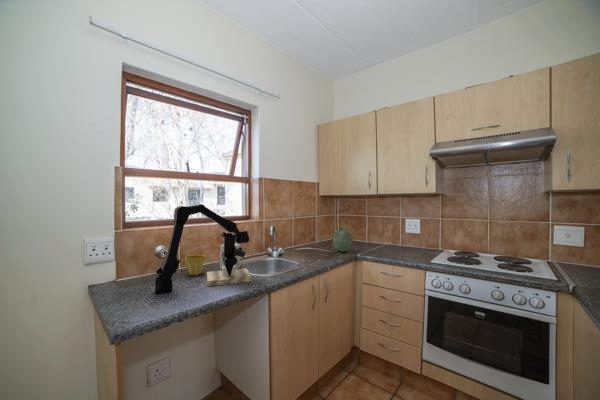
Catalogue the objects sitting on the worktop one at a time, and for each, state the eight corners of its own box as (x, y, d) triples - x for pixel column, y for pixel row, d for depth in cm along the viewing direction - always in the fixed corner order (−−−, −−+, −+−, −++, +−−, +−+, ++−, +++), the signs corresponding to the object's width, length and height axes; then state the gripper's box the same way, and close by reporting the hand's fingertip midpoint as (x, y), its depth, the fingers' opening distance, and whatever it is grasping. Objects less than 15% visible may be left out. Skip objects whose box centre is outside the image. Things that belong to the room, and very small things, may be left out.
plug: (222, 280, 127) (222, 268, 127) (221, 278, 131) (221, 266, 131) (236, 279, 130) (236, 267, 130) (234, 276, 134) (235, 265, 134)
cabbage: (340, 249, 217) (341, 227, 217) (356, 253, 201) (357, 229, 201) (327, 251, 208) (327, 227, 208) (342, 255, 192) (343, 230, 193)
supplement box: (240, 268, 151) (241, 244, 151) (228, 271, 144) (229, 246, 144) (231, 265, 156) (231, 242, 156) (219, 268, 149) (220, 244, 149)
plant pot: (192, 270, 145) (193, 253, 145) (208, 271, 143) (208, 255, 143) (180, 275, 135) (181, 257, 135) (197, 276, 132) (197, 259, 132)
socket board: (207, 286, 119) (207, 281, 119) (206, 276, 134) (206, 271, 134) (252, 281, 127) (252, 276, 127) (246, 272, 142) (246, 268, 142)
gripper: (247, 246, 125) (246, 276, 125) (241, 240, 142) (241, 267, 142) (225, 248, 121) (224, 279, 121) (221, 241, 138) (221, 269, 138)
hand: (228, 273), depth 130 cm, fingers open, 7 cm apart
